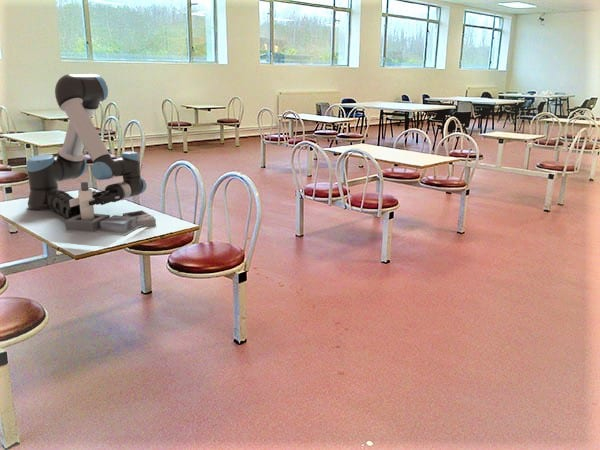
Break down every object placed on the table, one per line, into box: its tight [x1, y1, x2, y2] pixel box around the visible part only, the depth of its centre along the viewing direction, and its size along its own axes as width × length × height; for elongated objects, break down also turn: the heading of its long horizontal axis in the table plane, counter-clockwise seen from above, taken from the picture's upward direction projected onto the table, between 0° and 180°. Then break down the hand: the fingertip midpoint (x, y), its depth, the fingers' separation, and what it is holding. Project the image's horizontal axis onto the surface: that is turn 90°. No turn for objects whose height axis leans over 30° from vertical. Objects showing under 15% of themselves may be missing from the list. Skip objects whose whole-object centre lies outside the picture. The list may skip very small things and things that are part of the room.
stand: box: [100, 214, 138, 237], centre depth 206 cm, size 10×10×5 cm
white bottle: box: [77, 181, 95, 221], centre depth 206 cm, size 5×5×17 cm
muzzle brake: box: [48, 189, 81, 220], centre depth 225 cm, size 10×28×10 cm
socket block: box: [64, 213, 111, 233], centre depth 208 cm, size 12×12×5 cm
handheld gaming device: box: [122, 210, 157, 230], centre depth 218 cm, size 9×15×4 cm, turn 40°
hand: (76, 204), depth 201 cm, fingers closed on white bottle, 5 cm apart
